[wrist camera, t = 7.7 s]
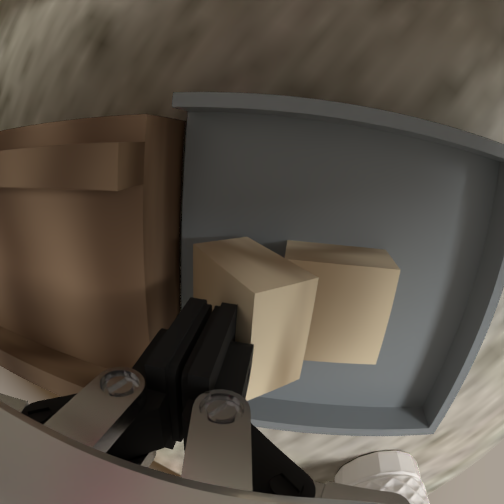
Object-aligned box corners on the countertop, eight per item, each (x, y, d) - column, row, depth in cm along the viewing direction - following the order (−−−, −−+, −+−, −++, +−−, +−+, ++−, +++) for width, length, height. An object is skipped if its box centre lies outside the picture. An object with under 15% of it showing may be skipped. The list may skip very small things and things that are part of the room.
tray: (502, 151, 12) (531, 155, 9) (424, 407, 17) (433, 433, 15) (193, 100, 13) (173, 92, 11) (187, 383, 19) (174, 410, 16)
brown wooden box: (185, 121, 14) (120, 110, 8) (182, 370, 18) (146, 439, 13) (-14, 138, 16) (-77, 148, 10) (7, 315, 20) (-39, 349, 15)
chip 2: (284, 258, 12) (287, 239, 14) (274, 357, 13) (278, 327, 16) (400, 269, 11) (385, 249, 14) (375, 364, 13) (367, 334, 15)
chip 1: (193, 243, 13) (247, 236, 14) (194, 336, 14) (241, 324, 16) (254, 293, 9) (318, 277, 10) (245, 401, 11) (299, 378, 12)
